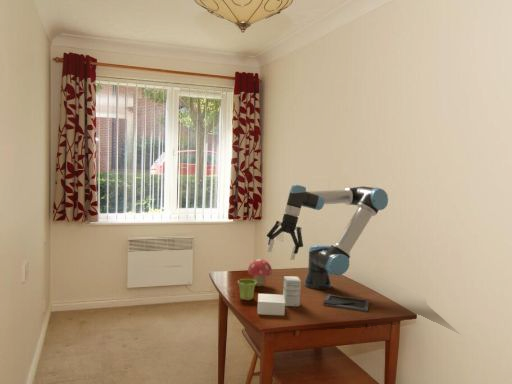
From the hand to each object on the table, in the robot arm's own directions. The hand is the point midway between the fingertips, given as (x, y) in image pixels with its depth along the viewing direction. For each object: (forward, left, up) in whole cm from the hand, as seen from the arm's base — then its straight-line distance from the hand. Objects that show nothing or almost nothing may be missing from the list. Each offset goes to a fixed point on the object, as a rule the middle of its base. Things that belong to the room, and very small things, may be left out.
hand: (280, 255), depth 213 cm
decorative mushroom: (+10, -18, -22) cm, 30 cm away
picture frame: (-34, +3, -22) cm, 41 cm away
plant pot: (+16, +4, -22) cm, 27 cm away
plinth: (+4, +19, -22) cm, 29 cm away
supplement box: (-6, +8, -22) cm, 24 cm away
